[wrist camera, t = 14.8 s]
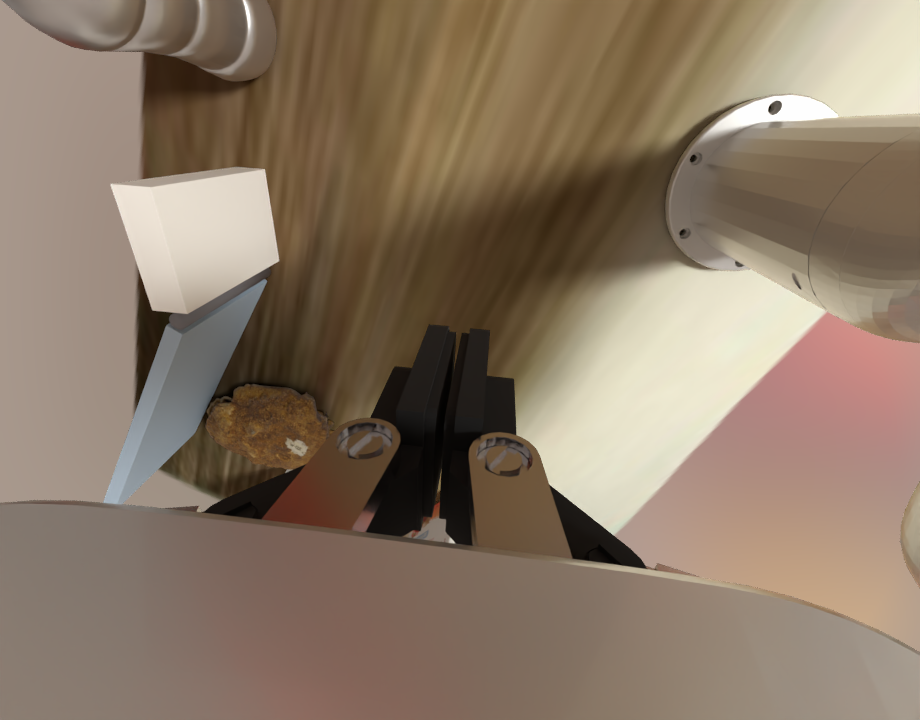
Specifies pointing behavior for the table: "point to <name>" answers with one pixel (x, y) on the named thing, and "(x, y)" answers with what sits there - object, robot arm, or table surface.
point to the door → (182, 383)
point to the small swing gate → (197, 233)
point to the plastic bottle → (165, 30)
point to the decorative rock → (269, 425)
